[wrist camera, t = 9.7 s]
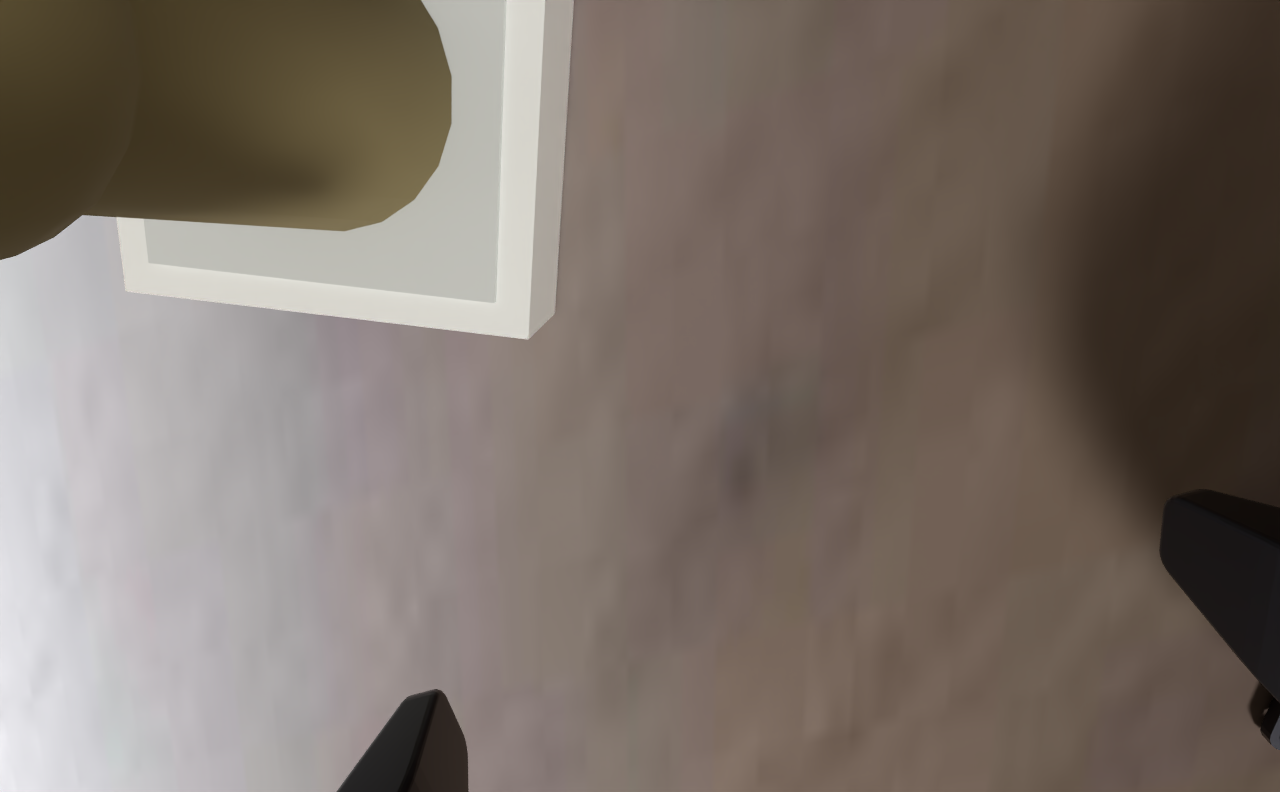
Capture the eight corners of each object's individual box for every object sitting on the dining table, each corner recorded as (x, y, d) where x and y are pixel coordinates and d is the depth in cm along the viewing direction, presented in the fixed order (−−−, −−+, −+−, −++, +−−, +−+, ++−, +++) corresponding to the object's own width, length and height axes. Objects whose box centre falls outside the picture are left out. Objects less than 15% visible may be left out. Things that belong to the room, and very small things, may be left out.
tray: (580, -111, 17) (552, -167, 14) (554, 313, 20) (526, 341, 17) (168, -144, 18) (57, -205, 15) (206, 272, 21) (120, 292, 18)
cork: (130, 73, 16) (-921, -71, 6) (304, -145, 15) (-724, -885, 4) (327, 285, 17) (-262, 483, 7) (510, 104, 16) (98, 9, 5)
